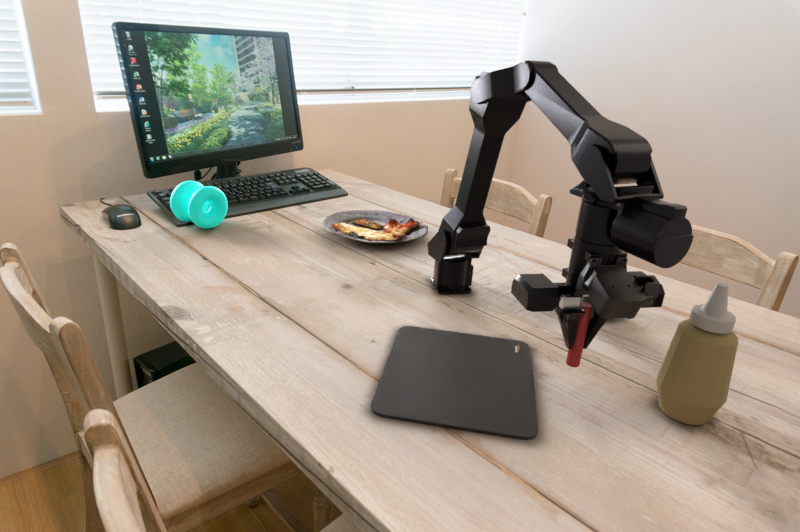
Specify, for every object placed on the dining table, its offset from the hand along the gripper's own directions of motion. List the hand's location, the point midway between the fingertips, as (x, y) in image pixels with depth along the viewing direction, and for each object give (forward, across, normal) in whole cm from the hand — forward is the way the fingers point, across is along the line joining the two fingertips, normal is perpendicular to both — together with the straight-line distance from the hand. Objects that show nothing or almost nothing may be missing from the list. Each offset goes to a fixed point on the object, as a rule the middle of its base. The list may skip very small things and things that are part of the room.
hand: (575, 347), depth 71 cm
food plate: (+2, -21, +60) cm, 63 cm away
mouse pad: (+6, -15, +3) cm, 16 cm away
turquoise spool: (+6, -59, +71) cm, 93 cm away
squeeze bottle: (+6, +12, -8) cm, 15 cm away
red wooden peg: (+2, 0, 0) cm, 2 cm away
